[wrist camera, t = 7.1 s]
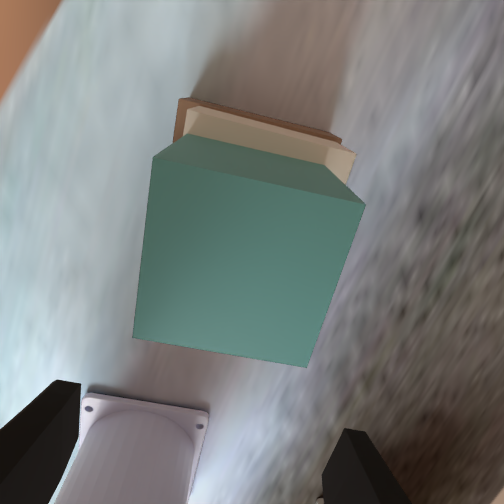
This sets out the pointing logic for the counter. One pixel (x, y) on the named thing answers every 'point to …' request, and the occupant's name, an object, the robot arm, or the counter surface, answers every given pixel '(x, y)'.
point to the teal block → (241, 250)
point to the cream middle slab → (269, 139)
